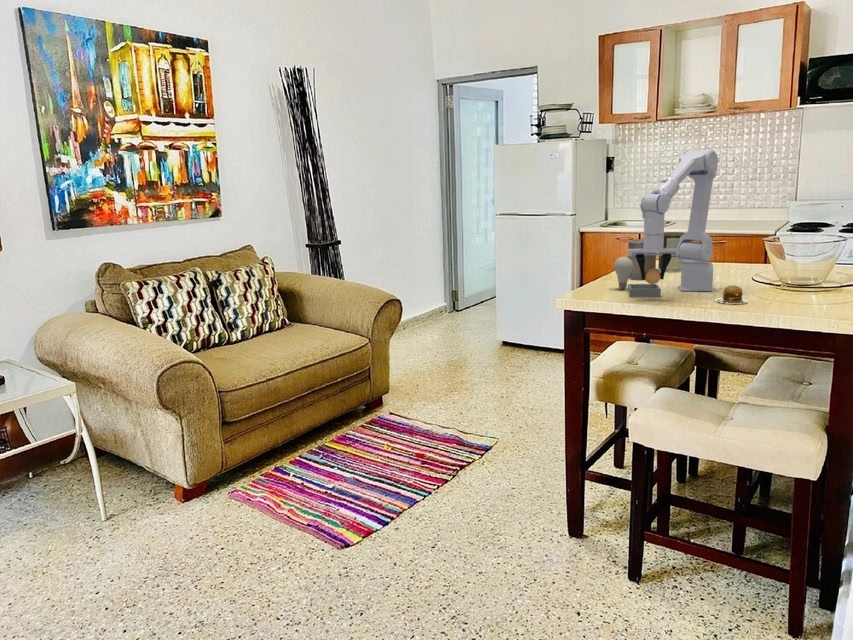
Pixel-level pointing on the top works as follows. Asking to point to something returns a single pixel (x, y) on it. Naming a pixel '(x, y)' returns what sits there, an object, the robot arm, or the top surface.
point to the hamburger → (732, 295)
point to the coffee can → (674, 265)
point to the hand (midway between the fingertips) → (652, 279)
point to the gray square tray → (644, 290)
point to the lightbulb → (623, 270)
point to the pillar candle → (649, 259)
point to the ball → (652, 276)
